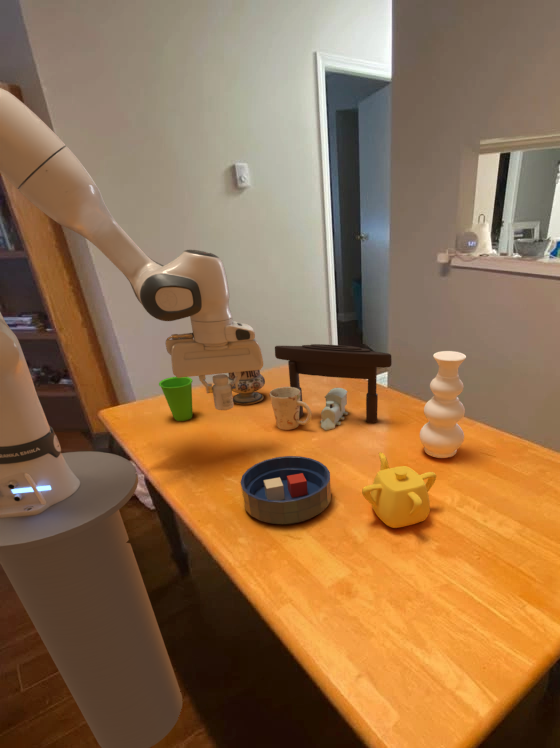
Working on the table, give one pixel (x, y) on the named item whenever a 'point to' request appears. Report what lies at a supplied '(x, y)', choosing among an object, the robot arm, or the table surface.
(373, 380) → the stool
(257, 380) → the apothecary jar
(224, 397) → the pill bottle
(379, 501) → the teapot
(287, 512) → the bowl
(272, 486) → the cream block
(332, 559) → the table surface
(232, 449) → the table surface
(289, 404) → the mug
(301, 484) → the red block
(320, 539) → the table surface
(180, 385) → the cup
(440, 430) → the vase
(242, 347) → the robot arm
